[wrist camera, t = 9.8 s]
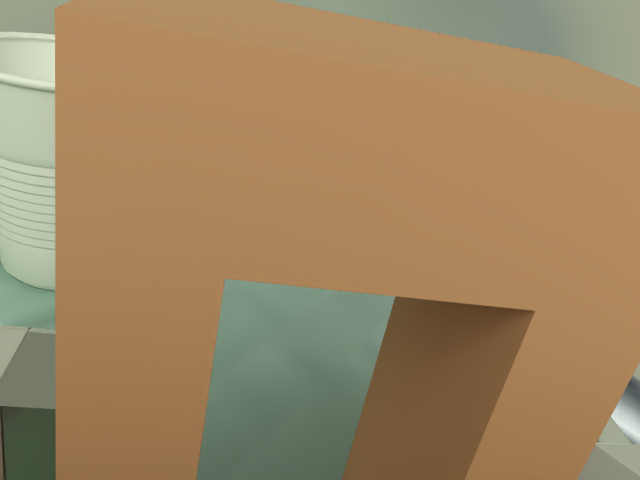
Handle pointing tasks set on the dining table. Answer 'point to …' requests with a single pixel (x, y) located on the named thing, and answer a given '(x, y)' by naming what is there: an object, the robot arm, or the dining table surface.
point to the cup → (27, 157)
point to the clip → (340, 230)
